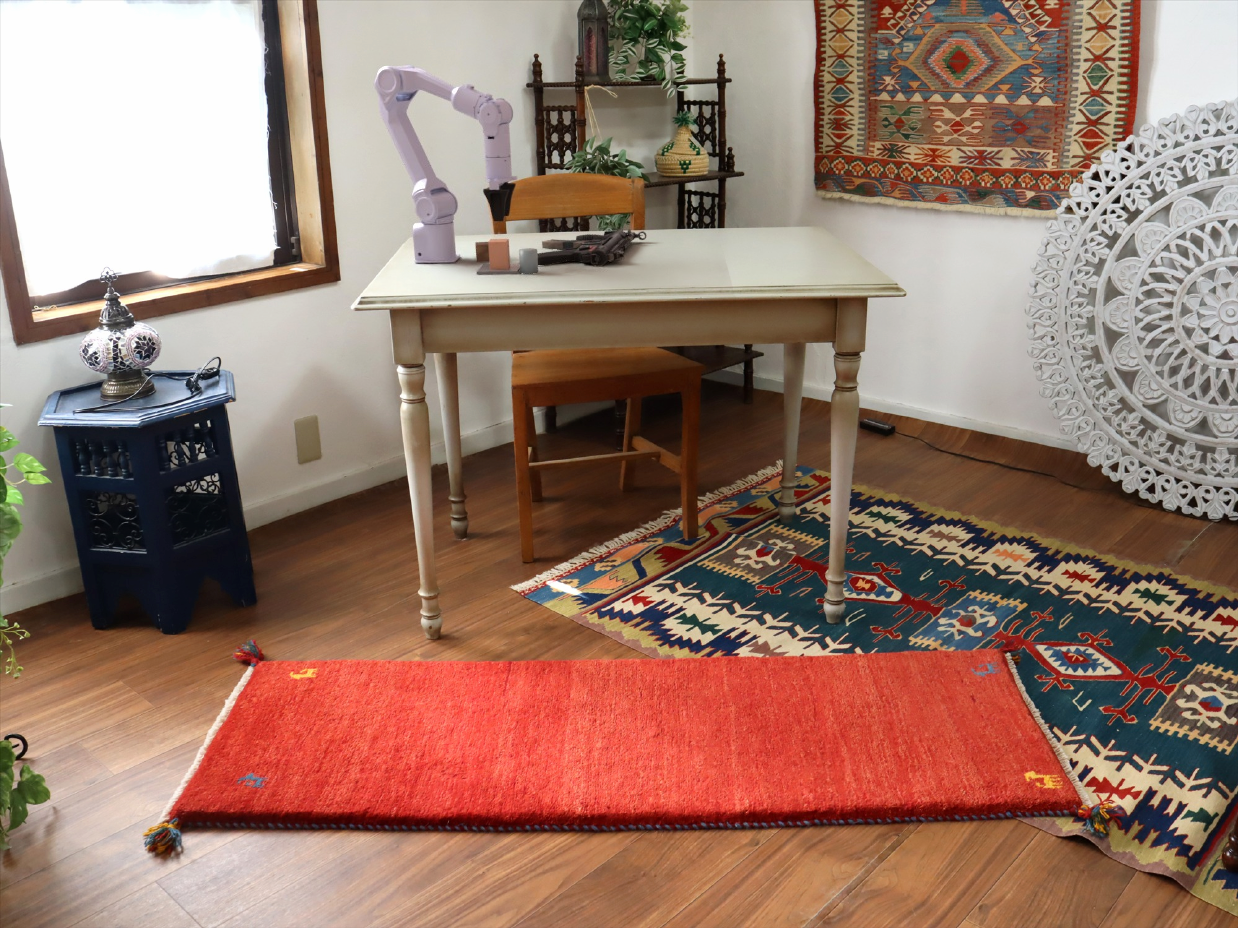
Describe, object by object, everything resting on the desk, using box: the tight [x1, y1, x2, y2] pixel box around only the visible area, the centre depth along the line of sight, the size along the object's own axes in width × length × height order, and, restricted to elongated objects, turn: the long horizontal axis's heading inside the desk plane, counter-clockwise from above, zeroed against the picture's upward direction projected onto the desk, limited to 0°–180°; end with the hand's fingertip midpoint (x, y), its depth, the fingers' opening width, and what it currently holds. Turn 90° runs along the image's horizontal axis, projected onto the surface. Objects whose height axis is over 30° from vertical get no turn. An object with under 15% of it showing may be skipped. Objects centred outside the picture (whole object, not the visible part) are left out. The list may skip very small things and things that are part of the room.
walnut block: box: [474, 241, 489, 263], centre depth 249 cm, size 5×4×4 cm
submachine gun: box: [537, 228, 647, 267], centre depth 254 cm, size 33×4×25 cm
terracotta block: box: [487, 238, 511, 269], centre depth 236 cm, size 4×4×6 cm
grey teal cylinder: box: [518, 247, 539, 275], centre depth 234 cm, size 4×4×5 cm
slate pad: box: [476, 262, 520, 275], centre depth 237 cm, size 9×9×1 cm
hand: (501, 218), depth 241 cm, fingers open, 7 cm apart
